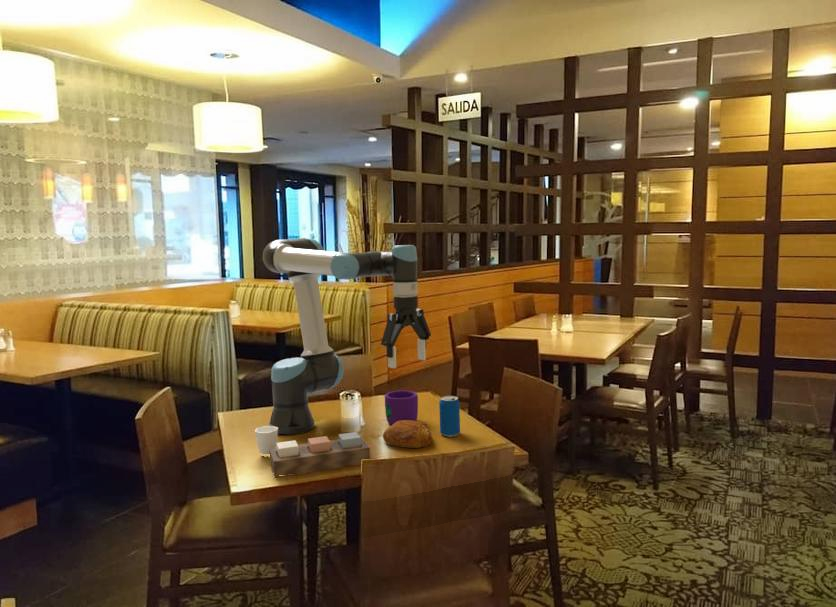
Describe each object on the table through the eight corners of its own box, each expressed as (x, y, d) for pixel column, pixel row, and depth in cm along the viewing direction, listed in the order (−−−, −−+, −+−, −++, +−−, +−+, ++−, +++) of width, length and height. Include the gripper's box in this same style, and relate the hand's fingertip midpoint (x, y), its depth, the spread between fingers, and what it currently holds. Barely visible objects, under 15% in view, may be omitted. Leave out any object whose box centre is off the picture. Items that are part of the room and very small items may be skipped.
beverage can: (458, 437, 201) (457, 401, 200) (438, 437, 203) (437, 400, 201) (461, 431, 208) (460, 395, 206) (441, 430, 209) (440, 395, 208)
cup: (258, 460, 187) (256, 434, 186) (252, 450, 196) (251, 425, 195) (282, 456, 189) (280, 430, 189) (275, 446, 199) (274, 421, 198)
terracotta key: (311, 459, 179) (311, 444, 179) (308, 453, 184) (307, 438, 184) (330, 456, 181) (330, 441, 181) (327, 450, 186) (326, 436, 186)
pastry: (419, 459, 190) (421, 434, 188) (375, 445, 197) (377, 421, 196) (441, 443, 202) (443, 420, 201) (399, 430, 210) (401, 407, 208)
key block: (274, 477, 174) (273, 461, 173) (270, 463, 184) (269, 448, 183) (370, 462, 182) (369, 447, 182) (361, 450, 193) (360, 436, 192)
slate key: (343, 454, 182) (342, 439, 182) (339, 448, 187) (338, 434, 187) (361, 452, 184) (360, 437, 183) (357, 446, 189) (356, 431, 189)
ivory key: (279, 464, 176) (278, 448, 176) (277, 457, 182) (276, 442, 181) (299, 461, 178) (298, 446, 178) (296, 455, 183) (295, 440, 183)
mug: (424, 424, 217) (423, 395, 216) (393, 429, 212) (392, 400, 211) (403, 411, 233) (402, 385, 231) (374, 416, 228) (373, 389, 227)
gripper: (386, 300, 183) (388, 372, 185) (440, 292, 201) (442, 358, 204) (367, 299, 188) (370, 369, 190) (422, 291, 206) (424, 355, 209)
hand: (407, 363), depth 197 cm, fingers open, 13 cm apart
